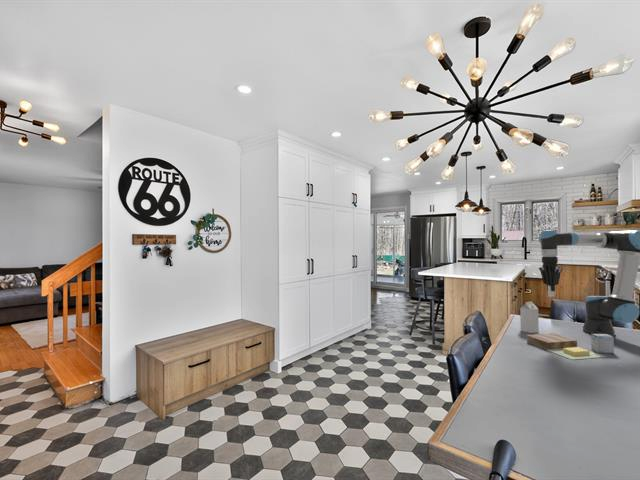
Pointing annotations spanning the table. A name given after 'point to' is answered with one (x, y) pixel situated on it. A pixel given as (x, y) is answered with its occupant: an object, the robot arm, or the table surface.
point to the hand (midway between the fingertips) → (551, 296)
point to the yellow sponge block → (576, 351)
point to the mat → (571, 357)
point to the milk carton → (529, 318)
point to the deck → (551, 341)
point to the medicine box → (602, 343)
